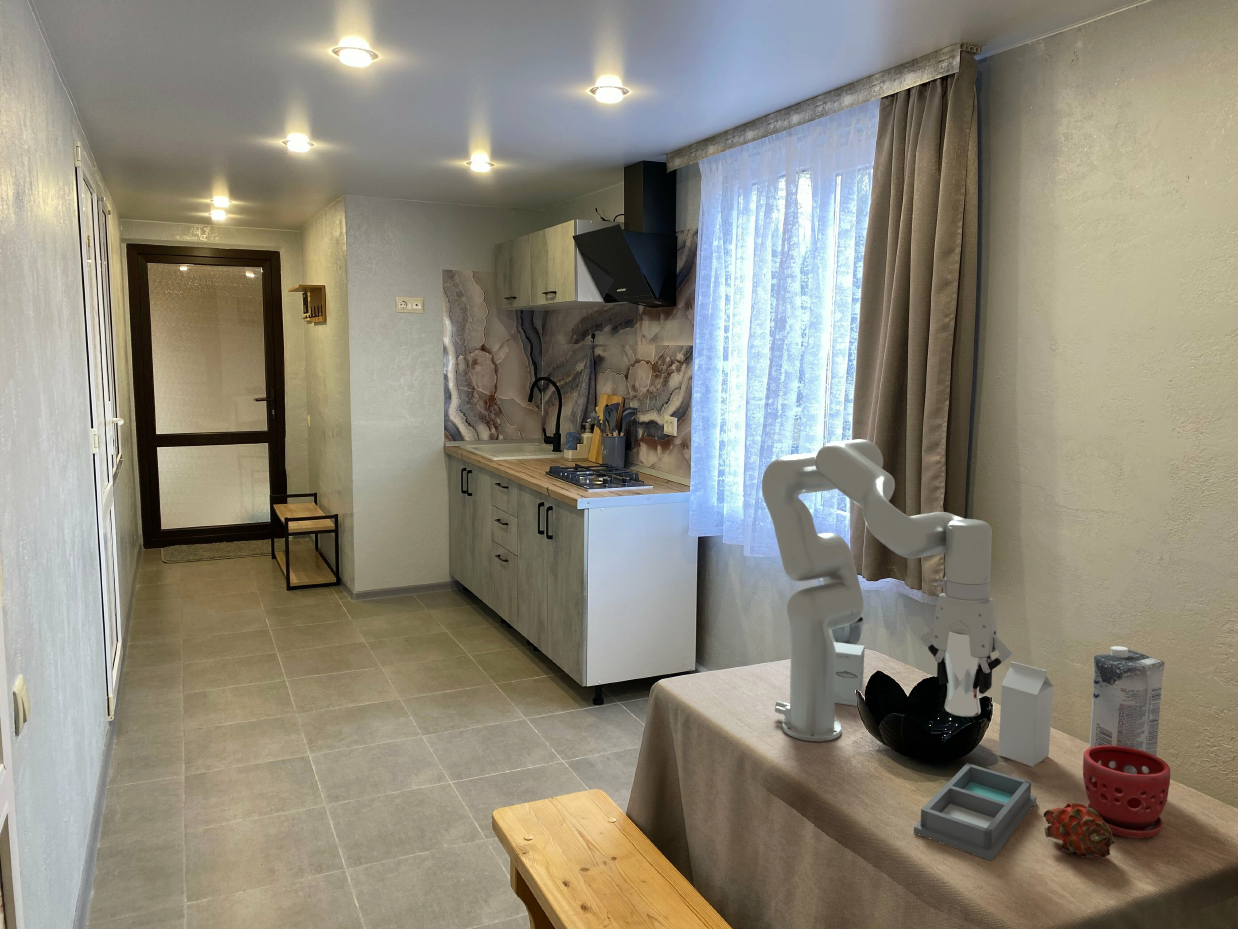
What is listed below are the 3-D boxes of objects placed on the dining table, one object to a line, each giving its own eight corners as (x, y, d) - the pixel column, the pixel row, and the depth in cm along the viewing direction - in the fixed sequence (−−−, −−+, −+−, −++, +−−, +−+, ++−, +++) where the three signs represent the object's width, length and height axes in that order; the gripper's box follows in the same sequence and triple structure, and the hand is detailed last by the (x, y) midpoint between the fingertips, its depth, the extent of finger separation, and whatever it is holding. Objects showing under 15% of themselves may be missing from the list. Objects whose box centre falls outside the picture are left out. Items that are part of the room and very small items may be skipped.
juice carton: (1161, 795, 166) (1172, 654, 162) (1120, 806, 162) (1131, 662, 158) (1118, 774, 174) (1127, 639, 171) (1078, 784, 170) (1087, 647, 167)
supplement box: (826, 703, 209) (828, 650, 208) (832, 691, 216) (833, 640, 214) (859, 707, 207) (861, 654, 205) (863, 696, 213) (865, 644, 212)
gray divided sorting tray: (913, 833, 154) (914, 810, 153) (964, 781, 172) (965, 760, 171) (991, 861, 146) (992, 837, 145) (1036, 803, 164) (1037, 781, 163)
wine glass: (830, 680, 223) (831, 622, 221) (828, 668, 231) (829, 612, 229) (863, 682, 222) (864, 623, 220) (860, 670, 230) (861, 613, 228)
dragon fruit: (1110, 882, 142) (1045, 855, 153) (1136, 840, 145) (1070, 816, 156) (1085, 847, 140) (1021, 821, 151) (1112, 804, 143) (1047, 782, 154)
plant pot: (1180, 829, 154) (1186, 763, 153) (1139, 853, 148) (1144, 784, 146) (1105, 797, 165) (1110, 735, 164) (1064, 818, 158) (1068, 753, 157)
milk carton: (1033, 767, 177) (1038, 675, 174) (997, 755, 182) (1002, 665, 180) (1048, 756, 182) (1054, 666, 179) (1014, 745, 187) (1019, 657, 184)
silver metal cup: (986, 719, 158) (989, 636, 156) (944, 716, 159) (946, 634, 157) (979, 704, 164) (982, 624, 162) (939, 701, 166) (941, 622, 164)
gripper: (910, 586, 162) (908, 681, 164) (1010, 602, 150) (1006, 705, 153) (927, 577, 167) (925, 670, 170) (1025, 593, 156) (1021, 692, 158)
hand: (963, 686), depth 161 cm, fingers closed on silver metal cup, 6 cm apart
